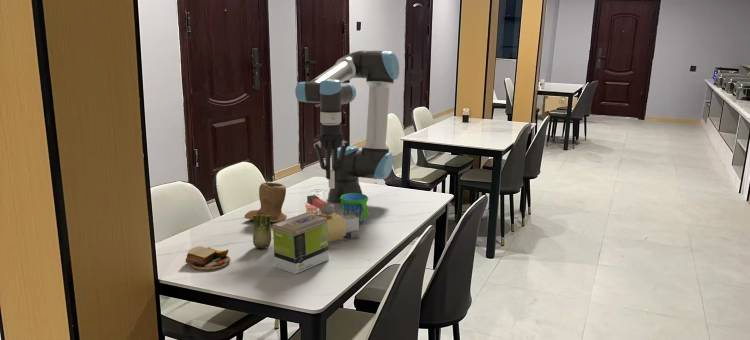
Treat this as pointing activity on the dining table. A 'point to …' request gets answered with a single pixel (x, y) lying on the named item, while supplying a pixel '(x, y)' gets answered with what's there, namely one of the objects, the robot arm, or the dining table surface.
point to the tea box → (300, 242)
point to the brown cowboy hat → (270, 202)
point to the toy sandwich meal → (207, 258)
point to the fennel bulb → (261, 232)
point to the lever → (320, 204)
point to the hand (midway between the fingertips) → (331, 187)
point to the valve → (341, 227)
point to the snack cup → (355, 205)
